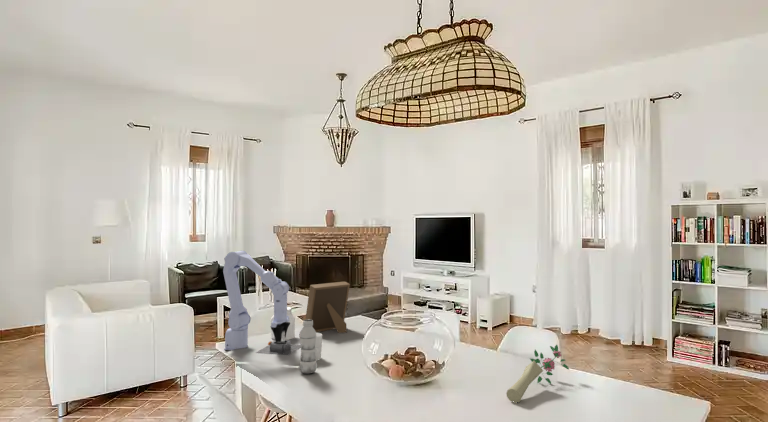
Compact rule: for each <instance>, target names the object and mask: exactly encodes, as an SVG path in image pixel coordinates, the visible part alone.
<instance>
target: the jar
mask: <svg viewBox="0 0 768 422" xmlns="http://www.w3.org/2000/svg"><path fill="white" fill-rule="evenodd" d="M287 316H289V320H290V321H289V322H290V325H289V327H288V329H287V333H286V337H285V340H288V341H289V340H291V339H296V335H295V332H296V331H295V330H296V329H295V328H296V327H295V326H296V325H295V322H296V318H295V316H294V314H293V313H292V307H289V306H287ZM273 320H274V314H273V315H272V316H271V318H270V324H271V323H272V322H273ZM270 339H273V340H275V336H274V333H273V331H272V329H271V328H270Z"/></svg>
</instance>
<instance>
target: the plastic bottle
mask: <svg viewBox="0 0 768 422" xmlns="http://www.w3.org/2000/svg"><path fill="white" fill-rule="evenodd" d="M302 326H303V327H302V328H301V330H300V332H299V335H298V336H299V345H301V348H300V360H299V367H298V368H299V372H301V373H302V374H307V375H308V374H314V373H315V372H316V371H317V366H318V364H317V360H316V357H315V342H316V333H317V332H316V331H315V330H314V328H313V327H312V326H313V320H305V319H304V320H302Z"/></svg>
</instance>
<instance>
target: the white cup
mask: <svg viewBox="0 0 768 422" xmlns="http://www.w3.org/2000/svg"><path fill="white" fill-rule="evenodd" d="M322 348H323V334H322V333H320V332H316V342H315V357H316V361H319V360H321V359H322V350H323V349H322Z"/></svg>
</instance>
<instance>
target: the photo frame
mask: <svg viewBox="0 0 768 422" xmlns="http://www.w3.org/2000/svg"><path fill="white" fill-rule="evenodd" d="M350 286H351V284H350V283H349V282H347V281H337V282H326V283H318V284H315V283H314V284H310V285H309V290H308V298H307V307H306V310H305V311H306V312H305V319H304V320H313V326H312V327H313V328H314V330H315V331H316V333H320V332H326V331H330V330H335V329H336V331H337V333H338V334H341V333H342V334H343V333H347V332H348V331H347V322H346V321H345V318H346V311H347V306H348V305H347V304H348V300H349V294H350V293H349V292H350Z"/></svg>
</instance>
